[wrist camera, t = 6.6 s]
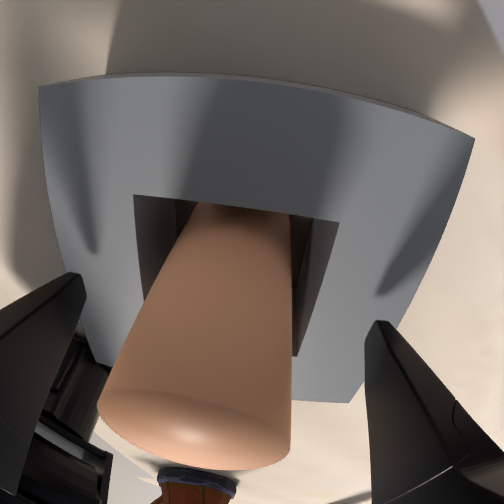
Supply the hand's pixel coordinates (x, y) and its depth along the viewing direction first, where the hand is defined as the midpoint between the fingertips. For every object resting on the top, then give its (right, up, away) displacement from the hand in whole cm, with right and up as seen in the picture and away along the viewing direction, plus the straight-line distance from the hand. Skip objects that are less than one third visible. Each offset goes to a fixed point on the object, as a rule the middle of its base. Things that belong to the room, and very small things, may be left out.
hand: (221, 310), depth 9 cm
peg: (0, +3, +4) cm, 5 cm away
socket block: (0, +3, +4) cm, 5 cm away
